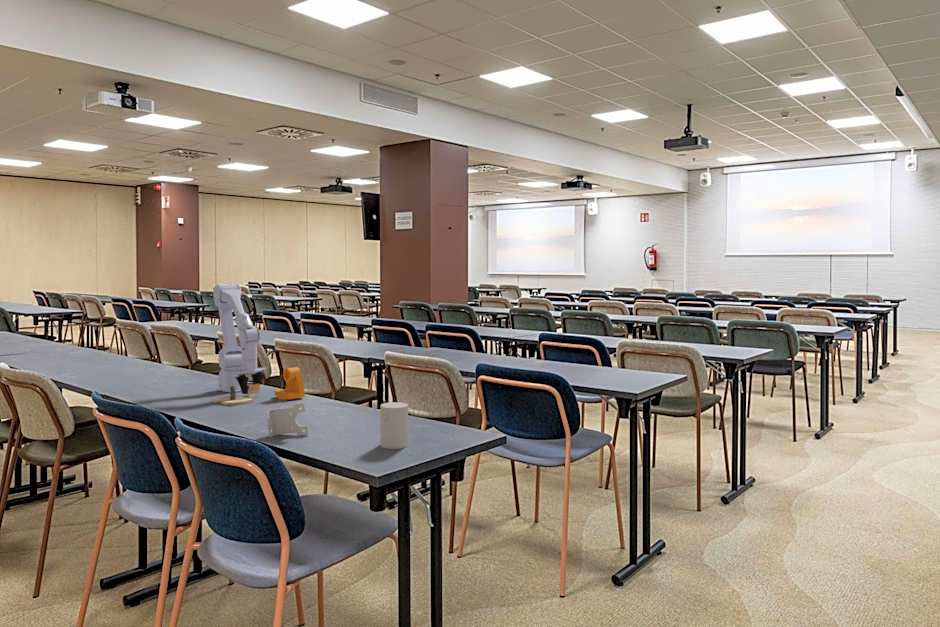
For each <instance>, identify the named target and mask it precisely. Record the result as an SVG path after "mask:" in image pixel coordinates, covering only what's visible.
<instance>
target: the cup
mask: <svg viewBox="0 0 940 627" xmlns="http://www.w3.org/2000/svg"><path fill="white" fill-rule="evenodd" d="M408 446H409V404H408V403H405V402H398V401H394V402H393V401H392V402H390V401H389V402H385V403H381V404H380V447H381V448H384V449H388V450H389V449H390V450H391V449H392V450H393V449H394V450H397V449H403V448H407V447H408Z"/></svg>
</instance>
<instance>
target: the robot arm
mask: <svg viewBox="0 0 940 627" xmlns="http://www.w3.org/2000/svg"><path fill="white" fill-rule="evenodd" d="M212 295H213V301H214V305H215V306H216V307H217V309H218V314H219V320H220V326H221V332H222V337H223V338H222V339H223V345H224V346H223V348H221V349H220V350H219V351H218V366H219V368H220V369H221V370H219V373H218V388H217V389H216V390H217V391H220V392H223V393H229V394H230V386H235V393H238V392H241V391H242V394H247V383H249V378H250V377H247V376H251V379H252V382H253V383H259V387H260V386H261V383H262V381H263V378H264V377H265V373H267V367H258V343H259V341H260V338H261V333H260V331H259V330H260V329H258V328H257V327H256V326H255V325H254V324H253V322H252V319H251V317H250V315H249V314H248V313H246V312H245V310H244V307H243V303H242V300H241V297H242V288H241V285H240V284H238V283H235V284H232V283H231V284H217V283H216V284H215V286H214V287H213V289H212ZM233 314H234V315H235V316H234V317H233ZM234 323H235V324H236V327H237V330H238V339H239V343H240V345H238V343H237V336H236V330H235V324H234Z"/></svg>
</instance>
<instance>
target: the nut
mask: <svg viewBox="0 0 940 627" xmlns="http://www.w3.org/2000/svg"><path fill="white" fill-rule="evenodd" d="M240 397H245V398H250V399H252V398H256V397H260V386H259V383H253V381H252V382H251V381H250V382H248V383H247V394H242V391H240Z"/></svg>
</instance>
